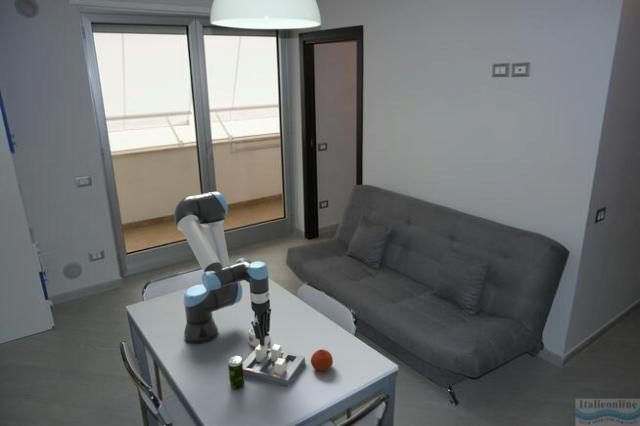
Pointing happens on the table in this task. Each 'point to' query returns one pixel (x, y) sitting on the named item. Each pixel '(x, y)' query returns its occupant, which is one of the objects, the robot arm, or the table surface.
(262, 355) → the white rectangular block
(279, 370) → the tab
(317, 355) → the fruit
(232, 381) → the beer can
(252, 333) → the mug
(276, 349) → the white cuboid
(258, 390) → the table surface
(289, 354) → the switch board
